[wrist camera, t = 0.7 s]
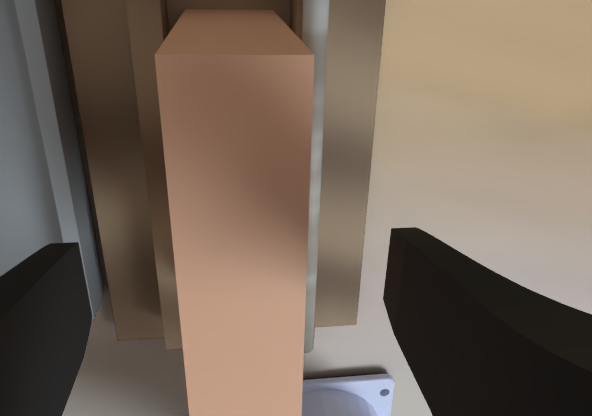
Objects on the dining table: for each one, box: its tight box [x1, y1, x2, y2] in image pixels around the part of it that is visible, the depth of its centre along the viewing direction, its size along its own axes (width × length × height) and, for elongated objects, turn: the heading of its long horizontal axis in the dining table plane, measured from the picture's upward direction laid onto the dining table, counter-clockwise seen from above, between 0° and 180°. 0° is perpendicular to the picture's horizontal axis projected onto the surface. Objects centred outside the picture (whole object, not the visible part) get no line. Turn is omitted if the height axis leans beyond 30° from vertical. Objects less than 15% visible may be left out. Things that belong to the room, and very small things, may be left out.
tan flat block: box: [155, 9, 314, 416], centre depth 16 cm, size 10×3×9 cm, turn 179°
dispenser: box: [61, 0, 386, 353], centre depth 19 cm, size 18×11×4 cm, turn 179°
